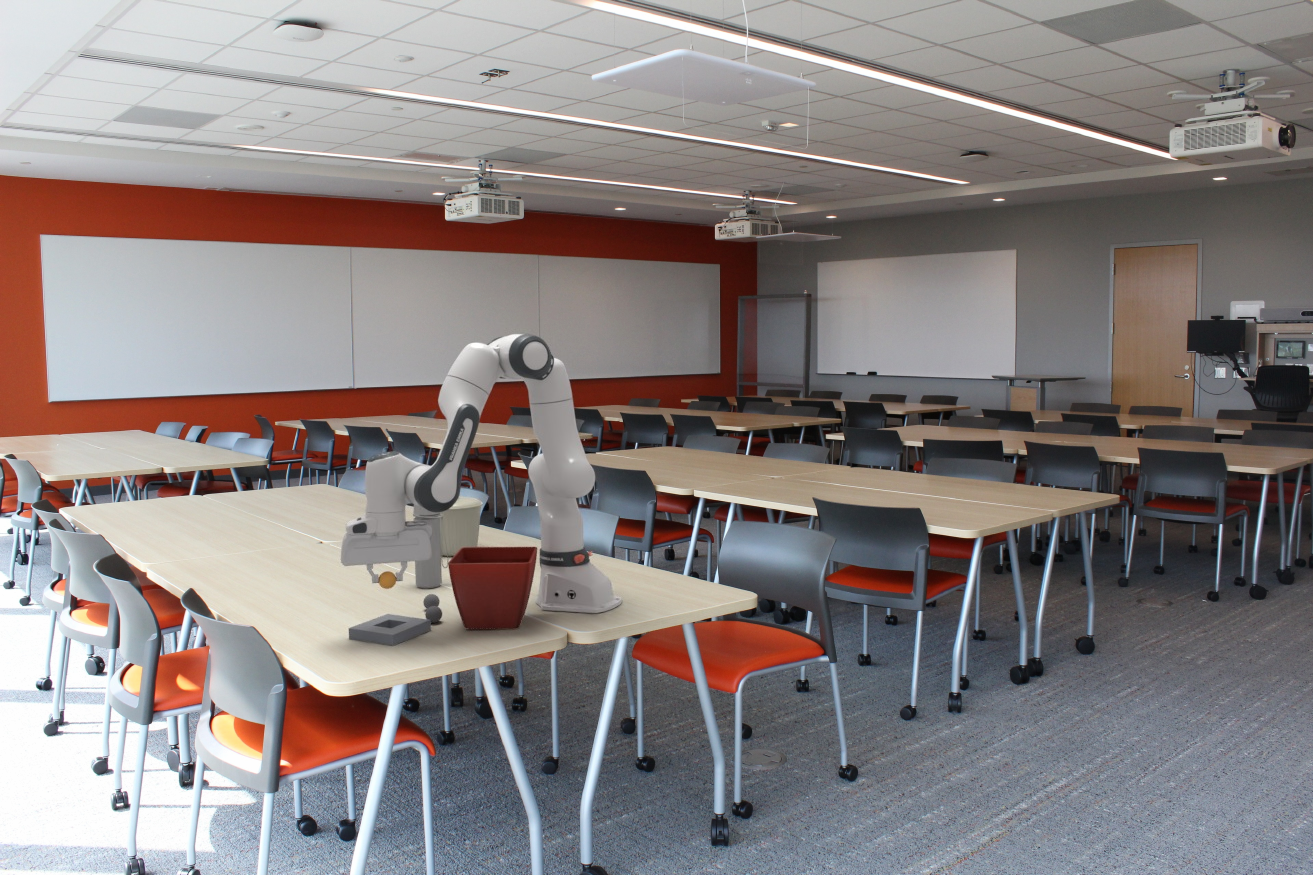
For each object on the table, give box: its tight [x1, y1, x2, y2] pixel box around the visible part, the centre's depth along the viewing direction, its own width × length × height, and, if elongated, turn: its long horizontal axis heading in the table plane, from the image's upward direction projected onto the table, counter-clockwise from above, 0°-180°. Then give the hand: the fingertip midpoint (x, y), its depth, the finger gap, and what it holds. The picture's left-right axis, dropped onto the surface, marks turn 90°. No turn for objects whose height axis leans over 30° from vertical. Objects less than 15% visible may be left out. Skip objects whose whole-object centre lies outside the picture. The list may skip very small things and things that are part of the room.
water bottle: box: [412, 504, 449, 590], centre depth 264 cm, size 9×8×25 cm
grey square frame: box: [348, 613, 432, 646], centre depth 219 cm, size 13×13×2 cm
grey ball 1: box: [423, 593, 441, 610], centre depth 240 cm, size 4×4×4 cm
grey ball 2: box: [424, 606, 443, 624], centre depth 228 cm, size 4×4×4 cm
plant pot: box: [448, 546, 538, 630], centre depth 227 cm, size 19×19×17 cm
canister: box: [438, 493, 484, 557], centre depth 307 cm, size 18×18×21 cm
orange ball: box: [378, 571, 397, 590], centre depth 218 cm, size 4×4×4 cm
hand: (387, 581), depth 218 cm, fingers closed on orange ball, 4 cm apart
